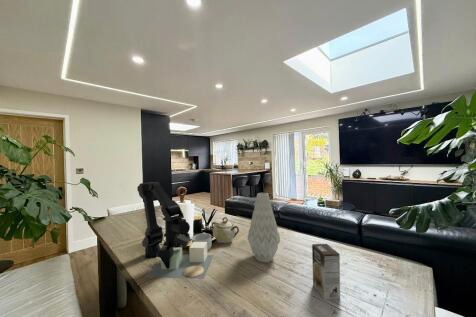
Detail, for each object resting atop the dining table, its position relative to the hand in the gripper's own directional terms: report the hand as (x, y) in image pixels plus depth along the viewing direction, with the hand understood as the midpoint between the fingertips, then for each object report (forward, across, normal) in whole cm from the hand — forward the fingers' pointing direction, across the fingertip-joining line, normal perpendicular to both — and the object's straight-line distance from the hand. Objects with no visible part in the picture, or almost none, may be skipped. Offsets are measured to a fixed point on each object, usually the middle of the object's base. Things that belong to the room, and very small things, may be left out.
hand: (172, 263), depth 96 cm
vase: (+2, +10, -44) cm, 45 cm away
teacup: (+2, +19, -10) cm, 22 cm away
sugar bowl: (+2, +31, -21) cm, 37 cm away
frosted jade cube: (+1, 0, 0) cm, 1 cm away
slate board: (+2, 0, -5) cm, 5 cm away
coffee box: (+2, -15, -66) cm, 68 cm away
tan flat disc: (+1, -5, -12) cm, 13 cm away
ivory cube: (+1, +7, -11) cm, 13 cm away
